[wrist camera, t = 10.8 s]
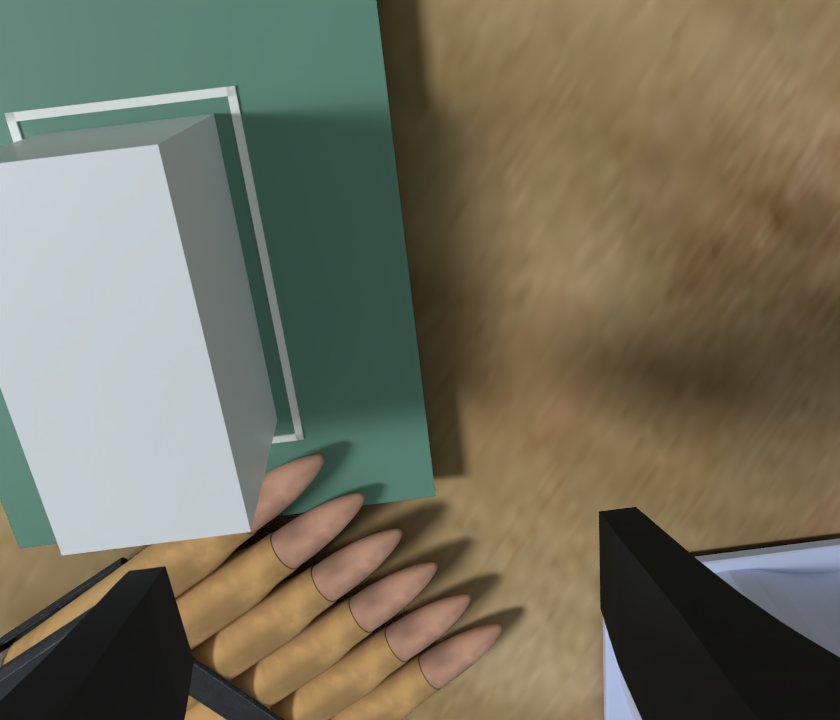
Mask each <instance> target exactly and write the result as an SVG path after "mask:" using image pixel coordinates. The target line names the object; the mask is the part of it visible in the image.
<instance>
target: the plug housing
mask: <svg viewBox="0 0 840 720" xmlns="http://www.w3.org/2000/svg"><path fill="white" fill-rule="evenodd" d="M0 388H1V391H2V394H3V397H4V399H5V402H6V405H7V407H8V410H9V413H10V416H11V418H12V421H13V424H14V427H15V429H16V432H17V435H18V437H19V440H20V443H21V446H22V448H23V451H24V454H25V456H26V459H27V462H28V465H29V467H30V470H31V473H32V476H33V478H34V481H35V484H36V486H37V489H38V492H39V495H40V497H41V500H42V503H43V505H44V508H45V511H46V514H47V516H48V519H49V522H50V524H51V527H52V530H53V533H54V535H55V538H56V541H57V544H58V546H59V549H60V552H61V554H62V555H69V554H77V553H85V552H93V551H101V550H109V549H117V548H125V547H133V546H141V545H149V544H157V543H165V542H174V541H182V540H190V539H198V538H206V537H214V536H222V535H230V534H238V533H246V532H251V529H252V525H253V521H254V517H255V512H256V508H257V504H258V500H259V496H260V491H261V487H262V483H263V479H264V475H265V470H266V466H267V462H268V458H269V454H270V449H271V445H272V441H273V437H274V433H275V428H276V424H277V416H276V411H275V406H274V401H273V396H272V392H271V387H270V382H269V377H268V372H267V367H266V363H265V358H264V353H263V348H262V343H261V339H260V334H259V329H258V324H257V319H256V314H255V310H254V305H253V300H252V295H251V290H250V286H249V281H248V276H247V271H246V266H245V262H244V257H243V252H242V247H241V242H240V237H239V233H238V228H237V223H236V218H235V213H234V209H233V204H232V199H231V194H230V189H229V184H228V180H227V175H226V170H225V165H224V160H223V156H222V151H221V146H220V141H219V136H218V131H217V127H216V122H215V117H214V114H206V115H197V116H189V117H180V118H172V119H163V120H155V121H146V122H138V123H129V124H121V125H113V126H104V127H96V128H87V129H79V130H70V131H62V132H53V133H45V134H38V135H35V136H32V137H29V138H26V139H23V140H20V141H17V142H14V143H10V144H7V145H4V146H1V147H0Z"/></svg>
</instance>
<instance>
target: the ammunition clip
mask: <svg viewBox="0 0 840 720" xmlns="http://www.w3.org/2000/svg"><path fill="white" fill-rule="evenodd" d="M324 460H325V458H324V456H323V455H322V454H315V455H310V456H306V457H302V458H299V459H296V460H294V461H291V462H289V463H286V464H284V465H282V466H280V467H278V468H276V469H273V470H272V471H270V472H268V473H266V474H265V475H264V479H263V483H262V487H261V491H260V496H259V500H258V504H257V508H256V512H255V517H254V521H253V525H252V529H251V532H246V533H238V534H230V535H222V536H214V537H206V538H198V539H190V540H182V541H174V542H165V543H157V544H151V545H150V546H148V547H147V548H146V549H144V550H143V551H141V552H140V553H139V554H137V555H136V556H134V557H133V558H132V559H130V560H129V561H128V560H127V559H126V558H120V559H119V560H117V561H116V562H114V563H113V564H111V565H110V566H108V567H107V568H105V569H104V570H102V571H101V572H99V573H98V574H96V575H95V576H93V577H92V578H90V579H89V580H87V581H86V582H84V583H82V584H81V585H79V586H78V587H76V588H75V589H73V590H72V591H70V592H69V593H67V594H66V595H64V596H63V597H61V598H60V599H58V600H57V601H55V602H54V603H52V604H51V605H49V606H48V607H46V608H45V609H43V610H42V611H40V612H39V613H37V614H36V615H34V616H33V617H31V618H30V619H28V620H27V621H25V622H24V623H22V624H21V625H19V626H18V627H16V628H15V629H13V630H11V631H10V632H8V633H7V634H5V635H4V636H2V637H1V638H0V701H1V700H2V699H3V698H4V697H5V696H6V695H7V694H8V693H9V692H10V691H11V690H12V689H13V688H14V687H15V686H16V685H17V684H18V683H19V682H21V681H22V680H23V679H24V678H25V677H26V676H27V675H28V674H29V673H30V672H31V671H32V670H33V669H34V668H35V667H36V666H37V665H38V664H39V663H40V662H41V661H42V660H43V659H44V658H45V657H46V656H47V655H48V654H49V653H50V652H51V651H52V650H53V649H54V648H55V647H56V646H57V645H58V644H59V643H60V642H61V641H62V640H63V639H64V638H65V636H66V635H67V634H68V633H69V632H70V631H71V630H72V629H73V628H74V627H75V626H76V625H77V624H78V623H79V622H80V621H81V620H82V619H83V618H84V617H85V616H86V615H87V613H88V612H89V611H90V610H91V609H92V608H93V607H94V606H95V605H96V604H97V603H98V602H99V601H100V600H101V599H102V598H103V596H104V595H105V594H106V593H107V592H108V591H109V590H110V589H111V588H112V587H113V586H114V585H115V584H116V583H117V582H118V581H119V580H120V579H121V578H122V577H123V576H124V575H125V574H126V573H127V572H128V571H131V570H139V569H147V568H155V567H163V566H166V570H167V573H168V576H169V580H170V583H171V586H172V589H173V593H174V596H175V599H176V603H177V606H178V609H179V612H180V616H181V619H182V622H183V626H184V629H185V632H186V636H187V639H188V642H189V645H190V649H191V652H192V655H193V659H194V663H193V670H192V677H191V684H190V691H189V697H188V703H187V709H186V714H185V720H402V719H404V718H405V717H407V716H408V715H409V714H410V713H411V712H412V711H413V710H414V709H415V708H416V707H417V706H418V705H419V704H420V703H421V702H422V701H424V700H425V699H426V698H428V697H429V696H431V695H432V694H434V693H435V692H437V691H438V690H439V689H440V688H441V687H442V686H444V685H445V684H447V683H448V682H450V681H451V680H453V679H454V678H456V677H457V676H459V675H460V674H462V673H463V672H464V671H465V670H467V669H468V668H469V667H470V666H472V665H473V664H474V663H475V662H476V661H477V660H478V659H480V658H481V657H482V656H483V655H484V654H485V653H486V651H487V650H488V649H489V648H490V647H491V646H492V645H493V644H494V642H495V641H496V640H497V638H498V637H499V635H500V633H501V631H502V626H501V624H488V625H483V626H479V627H476V628H473V629H470V630H467V631H464V632H462V633H459V634H457V635H455V636H453V637H451V638H449V639H446V640H444V641H442V642H440V643H439V644H437V645H435V646H434V647H432V648H430V649H429V650H427V651H425V652H424V653H421V654H419V655H417V656H415V655H416V654H418V653H419V652H421V651H422V650H424V649H425V648H427V647H428V646H429V645H431V644H432V643H433V642H434V641H435V640H437V639H438V638H439V637H440V636H442V635H443V634H444V633H445V632H446V631H447V630H448V629H449V628H450V627H451V626H452V625H453V624H454V623H455V622H456V621H457V620H458V618H459V617H460V616H461V615H462V614H463V612H464V611H465V610H466V608H467V607H468V605H469V603H470V601H471V596H470V595H469V594H459V595H454V596H449V597H446V598H443V599H440V600H437V601H434V602H432V603H429V604H427V605H424V606H422V607H420V608H418V609H416V610H414V611H412V612H410V613H408V614H407V615H405V616H403V617H402V618H400V619H398V620H397V621H395V622H394V623H392V624H390V625H389V626H385V627H384V628H382V629H380V630H379V631H377V632H375V633H373V634H372V635H370V634H371V633H372V632H373V630H375V629H376V628H378V627H379V626H381V625H382V624H384V623H385V622H387V621H388V620H390V619H391V618H392V617H394V616H395V615H396V614H397V613H399V612H400V611H401V610H402V609H403V608H404V607H406V606H407V605H408V604H409V603H410V602H411V601H412V600H413V599H414V598H415V597H416V596H417V595H418V594H419V593H420V592H421V591H422V590H423V589H424V588H425V586H426V585H427V584H428V583H429V581H430V580H431V579H432V577H433V576H434V574H435V572H436V570H437V568H438V565H437V564H436V563H435V562H427V563H421V564H417V565H413V566H410V567H407V568H404V569H402V570H399V571H397V572H394V573H392V574H390V575H388V576H386V577H384V578H382V579H380V580H378V581H376V582H374V583H372V584H371V585H369V586H367V587H366V588H364V589H363V590H361V591H360V592H358V593H357V594H355V595H353V596H350V597H348V598H347V599H345V600H343V601H342V602H340V603H338V604H337V605H335V606H333V607H332V608H330V609H327V608H328V607H330V606H331V605H332V604H334V603H335V602H336V601H337V599H339V598H340V597H342V596H343V595H345V594H346V593H347V592H349V591H350V590H352V589H353V588H355V587H356V586H357V585H358V584H360V583H361V582H362V581H363V580H364V579H365V578H367V577H368V576H369V575H370V574H371V573H372V572H373V571H375V570H376V569H377V568H378V567H379V566H380V565H381V564H382V563H383V561H384V560H385V559H386V558H387V557H388V556H389V555H390V553H391V552H392V551H393V550H394V548H395V547H396V546H397V544H398V542H399V541H400V539H401V537H402V535H403V532H402V530H401V529H389V530H384V531H380V532H377V533H375V534H372V535H369V536H366V537H364V538H361V539H359V540H357V541H355V542H353V543H351V544H349V545H347V546H345V547H343V548H341V549H339V550H338V551H336V552H334V553H333V554H331V555H329V556H328V557H326V558H325V559H323V560H322V561H320V562H319V563H317V564H316V565H312V566H311V567H309V568H308V569H306V570H304V571H303V572H301V573H299V574H298V575H296V576H295V577H293V578H290V579H288V580H285V581H283V582H281V583H279V582H280V581H282V580H283V579H284V578H286V577H287V576H288V575H290V574H291V573H292V572H293V571H295V570H296V569H297V568H298V567H299V566H300V565H301V564H303V563H304V562H305V561H307V560H308V559H310V558H311V557H312V556H314V555H315V554H316V553H318V552H319V551H320V550H321V549H322V548H324V547H325V546H326V545H327V544H328V543H329V542H330V541H332V540H333V539H334V538H335V537H336V536H337V535H338V534H339V533H340V532H341V531H342V530H343V529H344V528H345V527H346V526H347V524H348V523H349V522H350V521H351V520H352V519H353V517H354V516H355V515H356V514H357V512H358V511H359V509H360V508H361V506H362V504H363V502H364V500H365V495H364V494H363V493H353V494H348V495H344V496H341V497H338V498H335V499H332V500H330V501H327V502H325V503H323V504H320V505H318V506H316V507H314V508H312V509H310V510H309V511H307V512H305V513H303V514H301V515H300V516H298V517H296V518H295V519H293V520H292V521H290V522H289V523H287V524H286V525H284V526H283V527H281V528H280V529H278V530H277V531H273V532H272V533H270V534H269V535H267V536H266V537H264V538H262V539H261V540H259V541H258V542H256V543H255V544H253V545H251V546H248V547H246V548H243V549H241V550H239V551H237V552H234V553H232V552H233V551H234V550H235V549H236V548H237V547H238V546H240V545H241V544H242V543H244V542H245V541H246V540H247V539H249V538H250V537H251V536H252V535H254V534H255V533H256V532H257V530H259V529H260V528H261V527H263V526H264V525H265V524H267V523H268V522H269V521H271V520H272V519H273V518H275V517H276V516H277V515H279V514H280V513H281V512H282V511H283V510H284V509H285V508H287V507H288V506H289V505H290V504H291V503H292V502H293V501H294V500H295V499H296V498H297V497H298V496H299V495H300V494H301V493H302V492H303V491H304V490H305V489H306V488H307V486H308V485H309V484H310V483H311V482H312V480H313V479H314V478H315V477H316V475H317V474H318V472H319V471H320V469H321V467H322V465H323V463H324ZM326 609H327V610H326ZM368 635H370V636H368ZM367 636H368V637H367ZM365 637H366V638H365ZM413 656H415V657H413ZM412 657H413V658H412ZM410 658H412V659H410ZM409 659H410V660H409Z"/></svg>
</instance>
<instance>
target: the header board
mask: <svg viewBox="0 0 840 720" xmlns="http://www.w3.org/2000/svg"><path fill="white" fill-rule="evenodd" d="M206 114H214V117H215V122H216V127H217V131H218V136H219V141H220V146H221V151H222V156H223V160H224V165H225V170H226V175H227V180H228V184H229V189H230V194H231V199H232V204H233V209H234V213H235V218H236V223H237V228H238V233H239V237H240V242H241V247H242V252H243V257H244V262H245V266H246V271H247V276H248V281H249V286H250V290H251V295H252V300H253V305H254V310H255V314H256V319H257V324H258V329H259V334H260V339H261V343H262V348H263V353H264V358H265V363H266V367H267V372H268V377H269V382H270V387H271V392H272V396H273V401H274V406H275V411H276V416H277V424H276V428H275V433H274V437H273V441H272V445H271V449H270V454H269V458H268V462H267V466H266V470H265V474H266V473H268V472H270V471H272V470H273V469H276V468H278V467H280V466H282V465H284V464H286V463H289V462H291V461H294V460H296V459H299V458H302V457H306V456H310V455H315V454H322V455H323V456H324V458H325V460H324V463H323V465H322V467H321V469H320V471H319V472H318V474H317V475H316V477H315V478H314V479H313V480H312V482H311V483H310V484H309V485H308V486H307V488H306V489H305V490H304V491H303V492H302V493H301V494H300V495H299V496H298V497H297V498H296V499H295V500H294V501H293V502H292V503H291V504H290V505H289V506H288V507H287V508H285V509H284V510H283V511H282V512H281V513H280V514H279V515H277V516H282V515H290V514H298V513H305V512H307V511H309V510H310V509H312V508H314V507H316V506H318V505H320V504H323V503H325V502H327V501H330V500H332V499H335V498H338V497H341V496H344V495H348V494H353V493H363V494H364V495H365V500H364V502H363V504H362V505H370V504H378V503H386V502H394V501H402V500H409V499H417V498H425V497H433V496H436V495H435V487H434V479H433V470H432V462H431V454H430V445H429V437H428V428H427V420H426V412H425V403H424V395H423V387H422V378H421V370H420V362H419V353H418V345H417V336H416V328H415V320H414V311H413V303H412V295H411V286H410V278H409V269H408V261H407V253H406V244H405V236H404V228H403V219H402V211H401V203H400V194H399V186H398V177H397V169H396V161H395V152H394V144H393V136H392V127H391V119H390V110H389V102H388V94H387V85H386V77H385V69H384V60H383V52H382V43H381V35H380V27H379V18H378V10H377V2H376V0H0V147H1V146H4V145H7V144H10V143H14V142H17V141H20V140H23V139H26V138H29V137H32V136H35V135H38V134H45V133H53V132H62V131H70V130H79V129H87V128H96V127H104V126H113V125H121V124H129V123H138V122H146V121H155V120H163V119H172V118H180V117H189V116H197V115H206ZM0 500H1V503H2V505H3V508H4V510H5V513H6V515H7V518H8V520H9V523H10V525H11V528H12V530H13V533H14V535H15V538H16V541H17V543H18V546H19V548H27V547H35V546H43V545H51V544H57V541H56V538H55V535H54V533H53V530H52V527H51V524H50V522H49V519H48V516H47V514H46V511H45V508H44V505H43V503H42V500H41V497H40V495H39V492H38V489H37V486H36V484H35V481H34V478H33V476H32V473H31V470H30V467H29V465H28V462H27V459H26V456H25V454H24V451H23V448H22V446H21V443H20V440H19V437H18V435H17V432H16V429H15V427H14V424H13V421H12V418H11V416H10V413H9V410H8V407H7V405H6V402H5V399H4V397H3V394H2V391H1V388H0Z"/></svg>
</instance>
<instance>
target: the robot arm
mask: <svg viewBox="0 0 840 720" xmlns="http://www.w3.org/2000/svg"><path fill="white" fill-rule="evenodd" d="M599 540H600V602H601V611H602V615H603V668H604V720H840V538H839V539H831V540H823V541H815V542H807V543H799V544H791V545H783V546H775V547H767V548H760V549H752V550H744V551H736V552H728V553H720V554H712V555H704V556H696V557H694V556H693V555H692V554H690V553H689V552H688V551H687V550H686V549H684V548H683V547H682V546H681V545H680V544H679V543H677V542H676V541H675V540H674V539H673V538H671V537H670V536H669V535H668V534H667V533H666V532H664V531H663V530H662V529H661V528H660V527H659V526H658V525H656V524H655V523H654V522H653V521H652V520H651V519H649V518H648V517H647V516H646V515H645V514H643V513H642V512H641V511H640V510H639V509H637V508H636V507H632V508H624V509H616V510H608V511H600V512H599ZM193 663H194V659H193V655H192V652H191V649H190V645H189V642H188V639H187V636H186V632H185V629H184V626H183V622H182V619H181V616H180V612H179V609H178V606H177V603H176V599H175V596H174V593H173V589H172V586H171V583H170V580H169V576H168V573H167V570H166V566H163V567H155V568H147V569H139V570H131V571H128V572H127V573H126V574H125V575H124V576H123V577H122V578H121V579H120V580H119V581H118V582H117V583H116V584H115V585H114V586H113V587H112V588H111V589H110V590H109V591H108V592H107V593H106V594H105V595H104V596H103V598H102V599H101V600H100V601H99V602H98V603H97V604H96V605H95V606H94V607H93V608H92V609H91V610H90V611H89V612H88V613H87V615H86V616H85V617H84V618H83V619H82V620H81V621H80V622H79V623H78V624H77V625H76V626H75V627H74V628H73V629H72V630H71V631H70V632H69V633H68V634H67V635H66V636H65V638H64V639H63V640H62V641H61V642H60V643H59V644H58V645H57V646H56V647H55V648H54V649H53V650H52V651H51V652H50V653H49V654H48V655H47V656H46V657H45V658H44V659H43V660H42V661H41V662H40V663H39V664H38V665H37V666H36V667H35V668H34V669H33V670H32V671H31V672H30V673H29V674H28V675H27V676H26V677H25V678H24V679H23V680H22V681H21V682H19V683H18V684H17V685H16V686H15V687H14V688H13V689H12V690H11V691H10V692H9V693H8V694H7V695H6V696H5V697H4V698H3V699H2V700H1V701H0V720H185V714H186V709H187V703H188V697H189V691H190V684H191V677H192V670H193Z"/></svg>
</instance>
